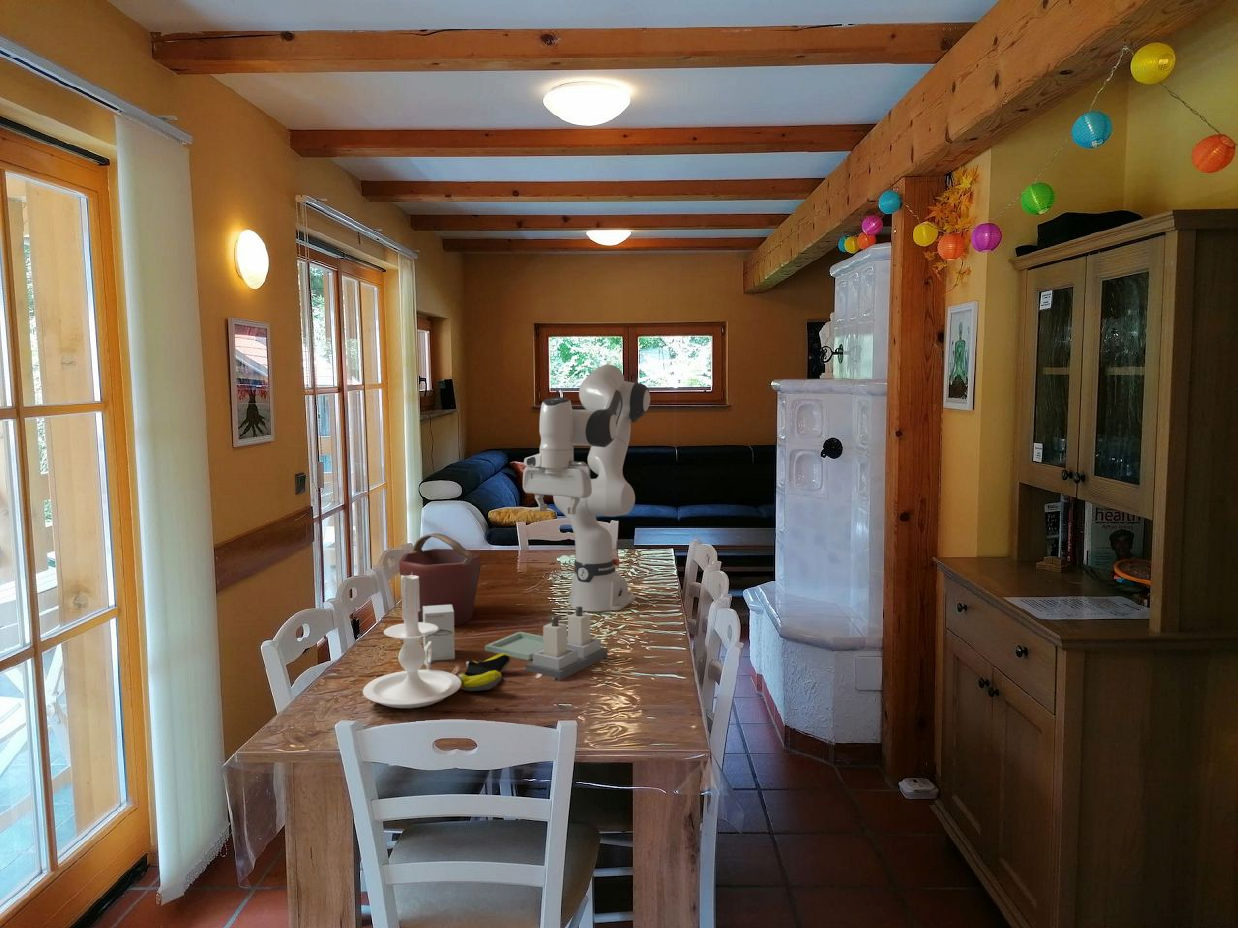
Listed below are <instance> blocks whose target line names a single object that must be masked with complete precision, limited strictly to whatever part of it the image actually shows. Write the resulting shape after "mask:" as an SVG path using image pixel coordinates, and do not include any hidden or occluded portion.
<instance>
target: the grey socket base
mask: <svg viewBox="0 0 1238 928" xmlns="http://www.w3.org/2000/svg"><path fill="white" fill-rule="evenodd" d="M542 633H543V634H542V636H543V649H542V650H540V651H538V652H536V653H533V658H532V661H530V662H528V663H526V664H525V671H526V672H529V673H530V672H531V673H535V674H538V675H542V676H548V677H550V678H554V679H555V680H554V681H558V680H559V682H560V681H563V680H565V679H567V678H569V677H570V676H573V675H574V674H577V673H578V672H580V671H582V670H584V669H586V668H588V667H591V666H592V665H593V664H595V663H598V662H600V661H602V660H604V659H605V658H607V657H608V648H605V647H602V645H601V644H602V641H601V639H600V638H595V637H591V643H589V644H586V645H584V646H578V645H574V644H569V643H568V624H566V623H559V616H556V615H553V616H551V622H550V623H547V624H545V625H543V626H542Z"/></svg>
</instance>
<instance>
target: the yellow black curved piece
mask: <svg viewBox="0 0 1238 928" xmlns="http://www.w3.org/2000/svg"><path fill="white" fill-rule="evenodd" d="M510 657H511V656H509V655H508V654H506V653H502V654H498V653H497V654H496V655H494V656H491V657H490V658H488V659H486V660H484V661H480V662H478V661H475V660H469V661H466V662H465V665H466V670H465V672H464V673H461V674H460V673H459V674H458V678H459V679H460V680H461V686H460V688H459V689H462V690H463V691H467V692H468V691H469V692H479V691H489V690H491V689H493V688H494V687H495V686H497V685H498V684H499V683H500V681H501V680H502V679H503V675H502V672H503V671H504V670H505V669H506V668H507V667H508V665H509V664H510V662H511V658H510Z"/></svg>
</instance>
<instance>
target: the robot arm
mask: <svg viewBox="0 0 1238 928" xmlns="http://www.w3.org/2000/svg"><path fill="white" fill-rule="evenodd" d="M578 398H579V400H580V404H581V407H582V408H583V409H573V408H572V403H571V400H570V398H567V397H561V396H560V397H559V396H558V397H551V398H547V399H544V400H543V401H542V403H541V406H540V412H539V436H540V445H539V453H537V454H534V455H531V456H528V457H525V458H524V460H523V464H524V466H525V468H524V469H523V474H522V489H523V491H524V492H525V494H533V495H534V499H535V501H536V502H537V504H538V511H539V512H546V511H548V508H547V507H548V504H547V503H545V501H544V499H543V498H545V496H552V497H553V499H552V500H553V503H554V505H555V506H556V508H557V510H559V512H561V513H562V514H563V515H564V516H565V518H566V519H567V521H568V522H569V524H570V527H571V528H572V531H573V534H574V547H575V560H574V563H573V569H574V575H573V576H572V578H571V579H572V580H571V590H570V591H571V592H570V597H569V598H568V600H567V602H568V603H569V604H570V607H571V608H572V609H574V610H576V607H582V612H606V611H607V612H608V611H620V610H622V609H624V608H625V607H627V606H628V605H629V604H630V603H632V602H634V601H635V600H636V599H637V597H636V595H634V594H632V593H629V586H628V584H629V583H628V581H627V579H625V578H624V577H623V576H622V575H621V574H619V573H618V572H617V571H616V569H617V568H616V566H619V565H620V564H621V560H620V559H619V558H613V537H612V534H611V533H610V531H609V530H608V529H607V528H605V527H603V526H602V525H601V524H600V523H599V522H598V519H597V517H598V516H600V517H601V516H602V517H619V516H625V515H629V513H630V512H631V511H632V510H633V507H634V506H635V503H636V495H635V491H634V489H633V487H632V485H631V484H630V483H628V481H627V480H626V479H625V477H624V474H623V473H624V472H623V468H624V467H623V466H624V463H625V459H626V455H627V452H628V447H629V444H630V438H631V432H632V431H631V428H632V426H631V425H632V424H634V423H637V422H638V420H639V419H641V418H643V416H645V414H646V413H647V412H648V409H649V407H650V403H651V394H650V389H649V388H648V387H647V385H645V384H642V383H640V382H631V381H625V376H624V374H623V371H621V369H619V368H618V367H617V366H616V365H613V364H604V365H601V366H600V367H597V368H595V369H594V370H593V371H591V372H590V373H589V374H588V375H587V376H586V377H585V378H584V380H583V381H582V383H581V384H580V385H579V390H578ZM631 423H632V424H631ZM574 446H584V447H585V446H586V447H587V446H590V448H589V452H588V455H587V463H586V462H584V461H575V459H574V456H575V455H574ZM591 471H592V472H594V473H595V474H596V475H597V477H596V478H591ZM596 516H597V517H596Z"/></svg>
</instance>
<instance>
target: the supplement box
mask: <svg viewBox="0 0 1238 928" xmlns="http://www.w3.org/2000/svg"><path fill="white" fill-rule="evenodd" d="M423 622H424V623H431V624H434V625H436V626H438V628H439V629H438V631H436V632H435V633H433V634H431V635H427V636H424V637H422V641H423V642H422V643H423V649H425V646H426V645H427V644H428V642H429V641H432V645H431V647H432V659H431V663H435V661H445V660H455V658H456V653H455V652H456V651H455V649H456V648H455V647H456V646H455V627H454V610H453V606H452V604H451V605H435V606H423ZM427 659H428V653H427Z"/></svg>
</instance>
